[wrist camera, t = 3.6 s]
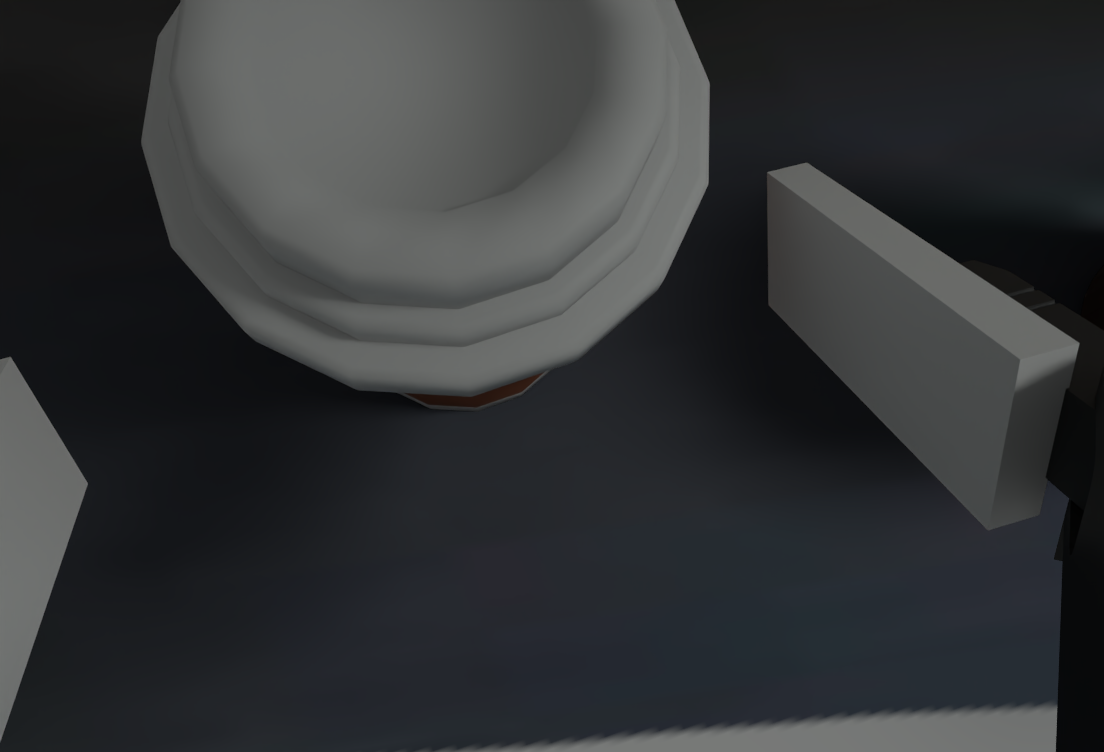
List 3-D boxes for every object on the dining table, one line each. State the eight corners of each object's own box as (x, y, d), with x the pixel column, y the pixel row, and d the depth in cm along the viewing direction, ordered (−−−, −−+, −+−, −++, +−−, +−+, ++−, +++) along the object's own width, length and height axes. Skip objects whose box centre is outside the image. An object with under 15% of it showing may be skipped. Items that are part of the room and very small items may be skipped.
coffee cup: (280, 163, 24) (71, -205, 12) (597, 128, 25) (684, -248, 13) (310, 485, 22) (100, 411, 11) (650, 436, 23) (804, 318, 11)
